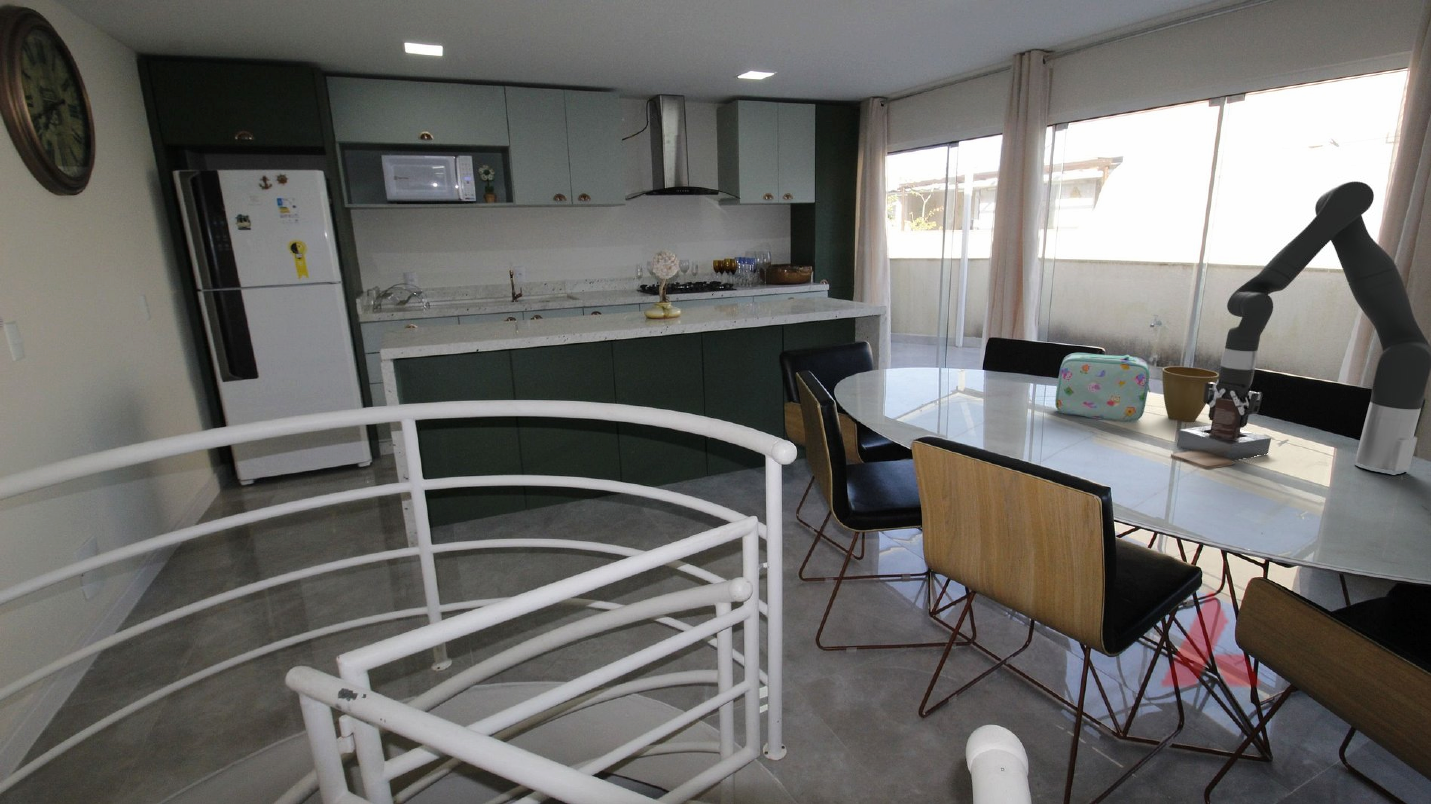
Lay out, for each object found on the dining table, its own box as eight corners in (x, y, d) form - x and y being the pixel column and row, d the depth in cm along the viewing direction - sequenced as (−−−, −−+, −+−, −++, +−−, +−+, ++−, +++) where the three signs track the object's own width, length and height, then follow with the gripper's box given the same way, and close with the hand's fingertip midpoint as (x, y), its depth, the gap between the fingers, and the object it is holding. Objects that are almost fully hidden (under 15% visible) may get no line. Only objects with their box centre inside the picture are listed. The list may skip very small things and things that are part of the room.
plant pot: (1144, 416, 221) (1152, 369, 217) (1172, 410, 227) (1180, 364, 223) (1191, 428, 208) (1200, 378, 204) (1220, 422, 214) (1229, 373, 210)
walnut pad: (1233, 464, 177) (1234, 461, 177) (1206, 469, 174) (1207, 466, 174) (1197, 452, 186) (1197, 450, 186) (1170, 456, 183) (1171, 454, 183)
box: (1238, 440, 186) (1247, 399, 183) (1233, 444, 184) (1242, 402, 181) (1212, 435, 191) (1220, 395, 188) (1207, 439, 188) (1215, 397, 185)
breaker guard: (1267, 455, 184) (1271, 437, 183) (1226, 462, 179) (1229, 443, 178) (1216, 440, 197) (1219, 423, 196) (1176, 446, 192) (1179, 428, 191)
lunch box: (1145, 417, 220) (1156, 353, 214) (1146, 426, 211) (1157, 359, 205) (1055, 407, 233) (1063, 346, 227) (1052, 414, 224) (1060, 352, 219)
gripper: (1276, 369, 176) (1263, 429, 181) (1221, 359, 189) (1210, 415, 194) (1256, 371, 174) (1243, 432, 178) (1201, 361, 187) (1191, 418, 192)
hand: (1226, 423), depth 186 cm, fingers closed on box, 7 cm apart
